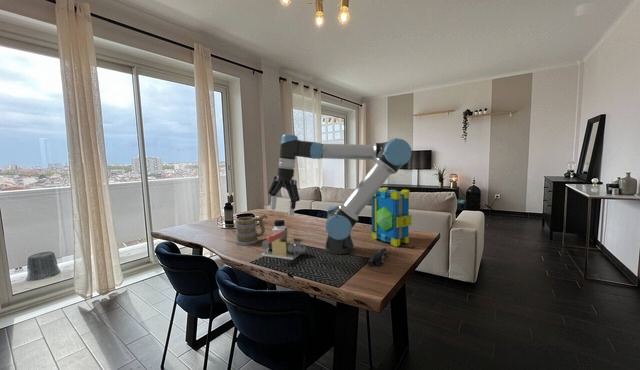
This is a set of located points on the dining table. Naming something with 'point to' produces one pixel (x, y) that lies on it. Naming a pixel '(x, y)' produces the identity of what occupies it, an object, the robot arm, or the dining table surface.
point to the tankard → (248, 230)
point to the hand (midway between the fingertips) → (281, 212)
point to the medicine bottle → (278, 225)
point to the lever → (277, 236)
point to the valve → (283, 249)
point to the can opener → (378, 257)
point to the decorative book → (391, 216)
